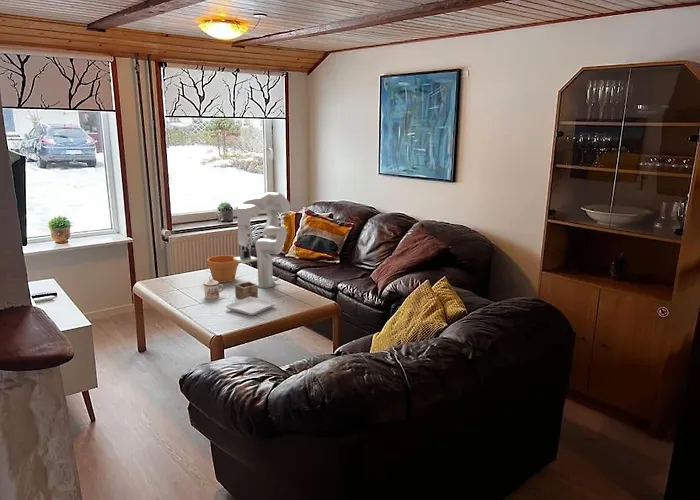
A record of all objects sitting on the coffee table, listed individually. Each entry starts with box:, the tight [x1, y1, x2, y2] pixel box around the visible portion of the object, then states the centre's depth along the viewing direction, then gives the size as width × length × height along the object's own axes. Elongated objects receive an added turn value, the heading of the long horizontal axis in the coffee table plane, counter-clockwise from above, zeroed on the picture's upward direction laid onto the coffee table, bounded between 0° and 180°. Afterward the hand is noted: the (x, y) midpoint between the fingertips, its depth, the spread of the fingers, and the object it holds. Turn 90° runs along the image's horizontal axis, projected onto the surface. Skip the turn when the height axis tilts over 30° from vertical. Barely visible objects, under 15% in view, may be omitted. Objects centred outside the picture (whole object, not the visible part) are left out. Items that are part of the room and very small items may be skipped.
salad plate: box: [225, 296, 277, 316], centre depth 315 cm, size 21×21×3 cm
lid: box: [233, 249, 258, 264], centre depth 330 cm, size 11×11×6 cm
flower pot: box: [206, 254, 240, 283], centre depth 370 cm, size 21×21×15 cm
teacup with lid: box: [203, 278, 224, 300], centre depth 335 cm, size 12×9×12 cm
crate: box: [234, 281, 259, 300], centre depth 335 cm, size 10×10×8 cm
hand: (245, 256), depth 330 cm, fingers closed on lid, 2 cm apart
